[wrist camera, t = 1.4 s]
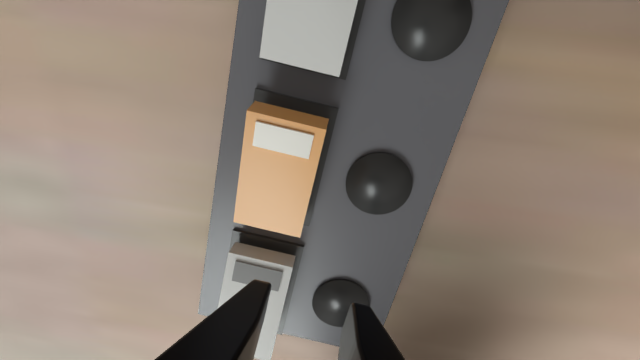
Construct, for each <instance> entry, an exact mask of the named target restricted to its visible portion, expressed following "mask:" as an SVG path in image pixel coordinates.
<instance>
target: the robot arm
mask: <svg viewBox="0 0 640 360" xmlns="http://www.w3.org/2000/svg"><path fill="white" fill-rule="evenodd" d="M270 291H271V283H269V282H265V281H261V280H257V279H254V280H252V281H251V282H250V283H248V284H247V285H246V286H245V287H243V288H242V289H241V290H240V291H239V292H237V293H236V294H235V295H234V296H232V297H231V298H230V299H229V300H227V301H226V302H225V303H224V304H223V305H221V306H220V307H219V308H218V309H216V310H215V311H214V312H213V313H211V314H210V315H209V316H208V317H207V318H205V319H204V320H203V321H202V322H200V323H199V324H198V325H197V326H195V327H194V328H193V329H192V330H191V331H189V332H188V333H187V334H186V335H184V336H183V337H182V338H181V339H179V340H178V341H177V342H176V343H175V344H173V345H172V346H171V347H170V348H168V349H167V350H166V351H165V352H163V353H162V354H161V355H160V356H159V357H157V358H156V359H155V360H253V359H254V355H255V351H256V348H257V344H258V340H259V337H260V333H261V329H262V325H263V322H264V318H265V314H266V309H267V305H268V300H269V296H270ZM338 360H405V359H404V357H403V356H402V354H401V353H400V351H399V350H398V348H397V347H396V345H395V344H394V342H393V340H392V339H391V337H390V336H389V334H388V333H387V331H386V330H385V328H384V327H383V325H382V324H381V322H380V321H379V319H378V317H377V316H376V314H375V313H374V311H373V310H372V308H371V307H370V306H368V305H364V304H360V303H356V302H353V303H352V304H351V305H350V307H349V310H348V313H347V316H346V319H345V322H344V325H343V328H342V332H341V337H340V346H339V356H338Z"/></svg>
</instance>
